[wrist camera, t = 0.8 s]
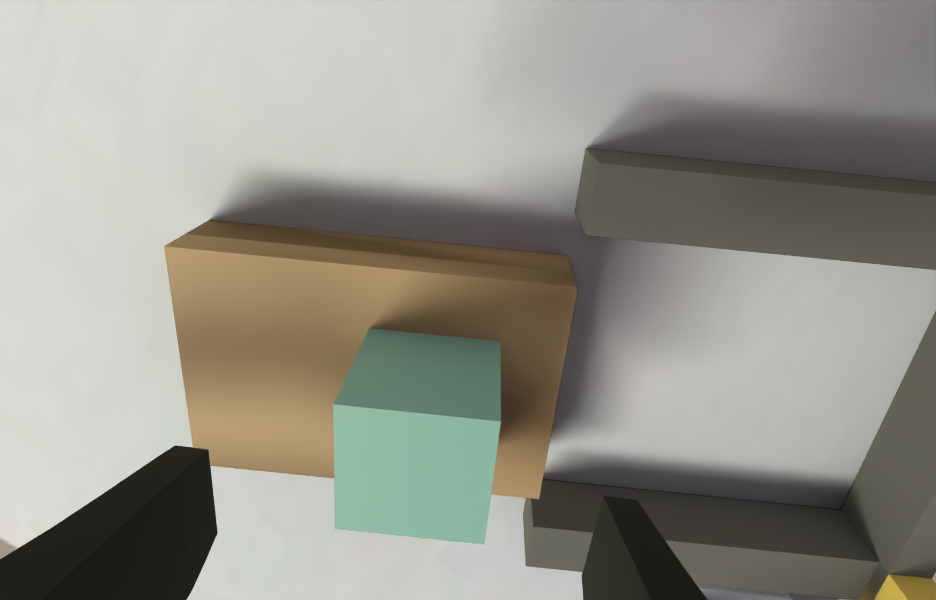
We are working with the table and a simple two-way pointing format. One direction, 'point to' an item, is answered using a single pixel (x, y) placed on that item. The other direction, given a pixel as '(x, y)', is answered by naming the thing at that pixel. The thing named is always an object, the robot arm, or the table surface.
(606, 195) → the dock
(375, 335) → the block
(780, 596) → the robot arm
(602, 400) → the table surface
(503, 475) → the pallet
